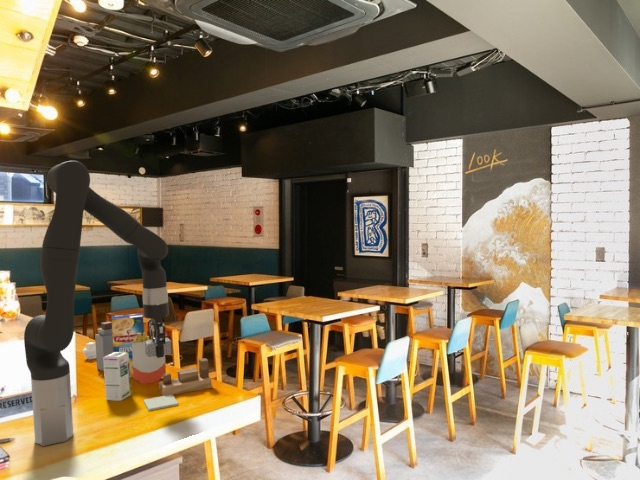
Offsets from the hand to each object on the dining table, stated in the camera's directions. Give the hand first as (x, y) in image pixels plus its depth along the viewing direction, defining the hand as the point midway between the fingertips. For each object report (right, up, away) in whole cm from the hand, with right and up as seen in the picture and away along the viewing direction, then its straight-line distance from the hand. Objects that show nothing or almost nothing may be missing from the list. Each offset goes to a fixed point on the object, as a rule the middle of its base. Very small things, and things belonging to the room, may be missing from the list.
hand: (158, 354), depth 160 cm
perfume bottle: (-32, -14, +40) cm, 53 cm away
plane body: (+5, -15, +13) cm, 21 cm away
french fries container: (-10, -15, +23) cm, 29 cm away
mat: (+1, -15, +1) cm, 16 cm away
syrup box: (-15, -16, +7) cm, 23 cm away
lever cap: (0, 0, 0) cm, 0 cm away
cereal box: (-21, -15, +31) cm, 40 cm away
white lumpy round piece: (-45, -14, +54) cm, 72 cm away
